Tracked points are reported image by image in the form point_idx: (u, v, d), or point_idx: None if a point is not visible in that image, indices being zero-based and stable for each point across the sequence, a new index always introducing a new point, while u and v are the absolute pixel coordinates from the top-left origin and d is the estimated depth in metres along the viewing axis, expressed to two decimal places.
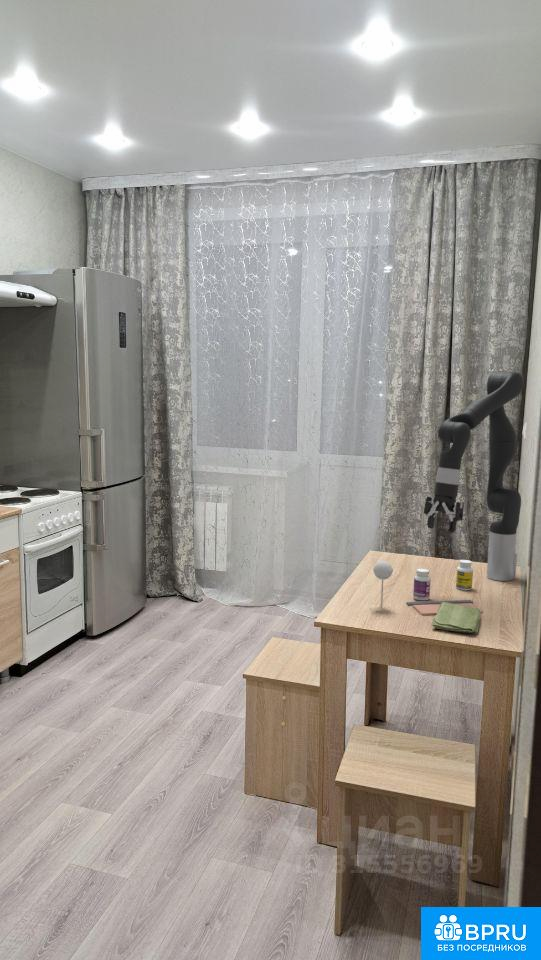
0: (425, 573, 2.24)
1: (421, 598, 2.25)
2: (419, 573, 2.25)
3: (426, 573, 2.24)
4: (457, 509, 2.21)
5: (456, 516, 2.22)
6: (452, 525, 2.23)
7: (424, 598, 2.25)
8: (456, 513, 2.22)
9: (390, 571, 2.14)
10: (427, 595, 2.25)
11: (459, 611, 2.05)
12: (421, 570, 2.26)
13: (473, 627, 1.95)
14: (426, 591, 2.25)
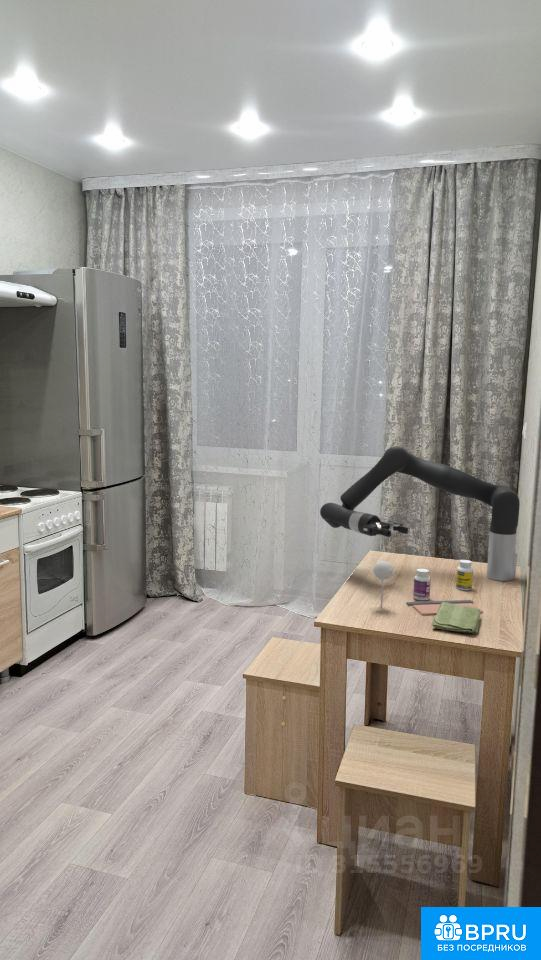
0: (425, 573, 2.24)
1: (421, 598, 2.25)
2: (419, 573, 2.25)
3: (426, 573, 2.24)
4: None
5: None
6: (383, 534, 2.32)
7: (424, 598, 2.25)
8: None
9: (390, 571, 2.14)
10: (427, 595, 2.25)
11: (459, 611, 2.05)
12: (421, 570, 2.26)
13: (473, 627, 1.95)
14: (426, 591, 2.25)
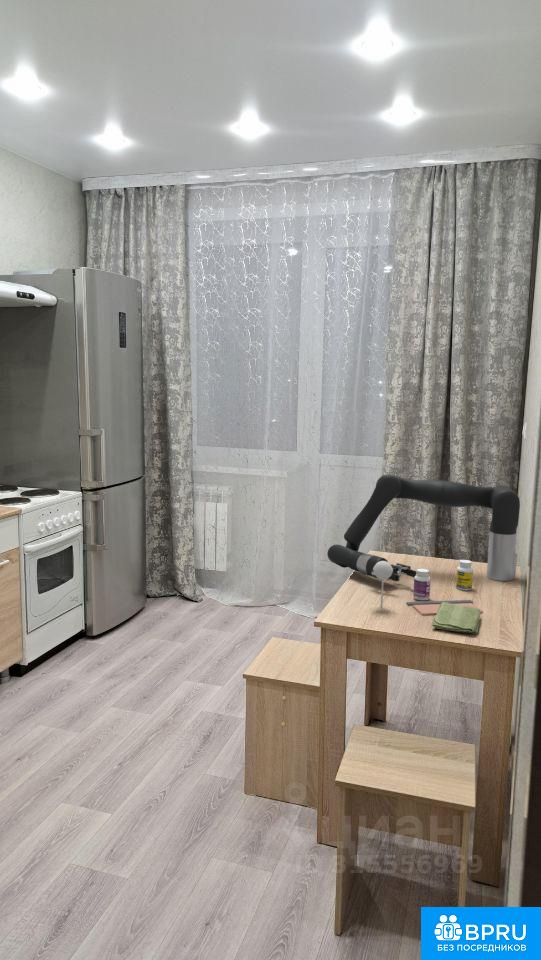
0: (425, 573, 2.24)
1: (421, 598, 2.25)
2: (419, 573, 2.25)
3: (426, 573, 2.24)
4: None
5: None
6: (391, 579, 2.31)
7: (424, 598, 2.25)
8: None
9: (390, 571, 2.14)
10: (427, 595, 2.25)
11: (459, 611, 2.05)
12: (421, 570, 2.26)
13: (473, 627, 1.95)
14: (426, 591, 2.25)
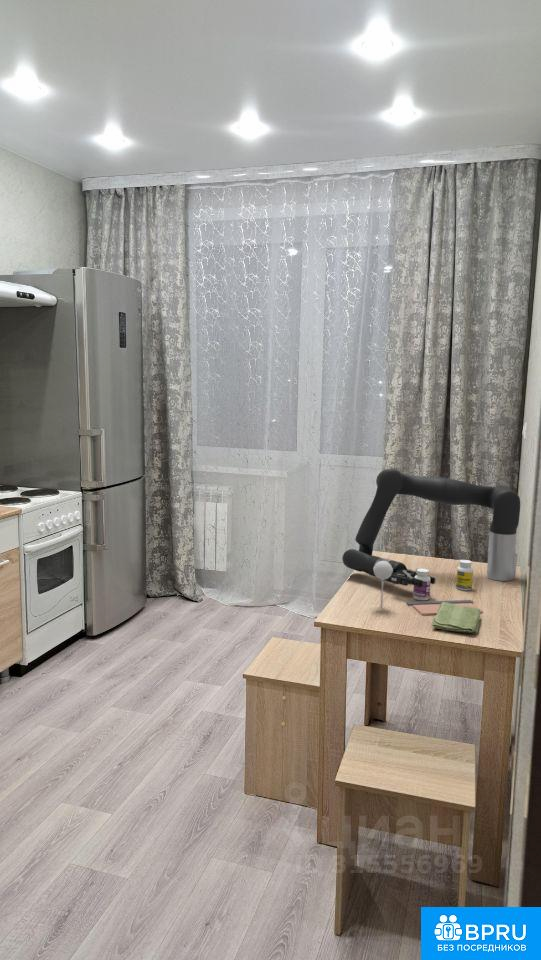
0: (425, 573, 2.24)
1: (421, 598, 2.25)
2: (419, 573, 2.25)
3: (426, 573, 2.24)
4: None
5: None
6: (414, 584, 2.24)
7: (424, 598, 2.25)
8: None
9: (390, 571, 2.14)
10: (427, 595, 2.25)
11: (459, 611, 2.05)
12: (421, 570, 2.26)
13: (473, 627, 1.95)
14: (426, 591, 2.25)
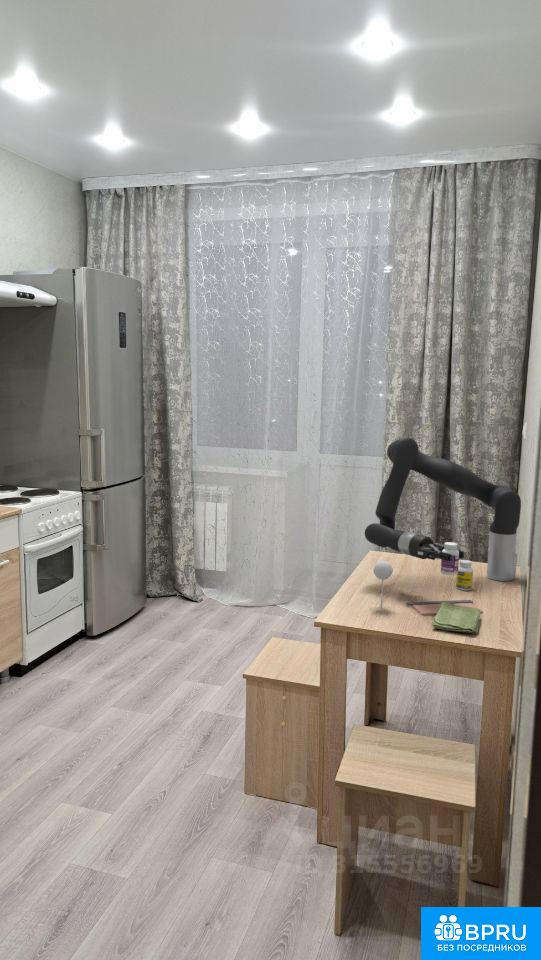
0: (454, 546, 2.13)
1: (449, 573, 2.13)
2: (447, 546, 2.13)
3: (455, 546, 2.13)
4: None
5: None
6: (442, 558, 2.13)
7: (452, 573, 2.13)
8: None
9: (390, 571, 2.14)
10: (455, 570, 2.13)
11: (459, 611, 2.05)
12: (449, 543, 2.14)
13: (473, 627, 1.95)
14: (454, 565, 2.13)
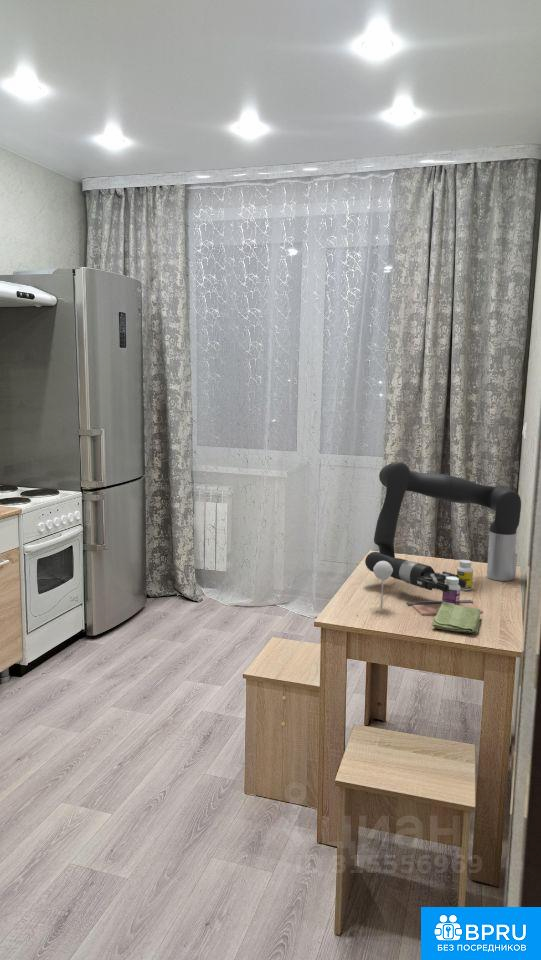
0: (455, 581, 2.13)
1: None
2: (449, 581, 2.14)
3: (456, 581, 2.14)
4: None
5: None
6: (440, 589, 2.13)
7: None
8: None
9: (390, 571, 2.14)
10: (457, 604, 2.14)
11: (459, 611, 2.05)
12: (451, 578, 2.15)
13: (473, 627, 1.95)
14: (456, 600, 2.14)
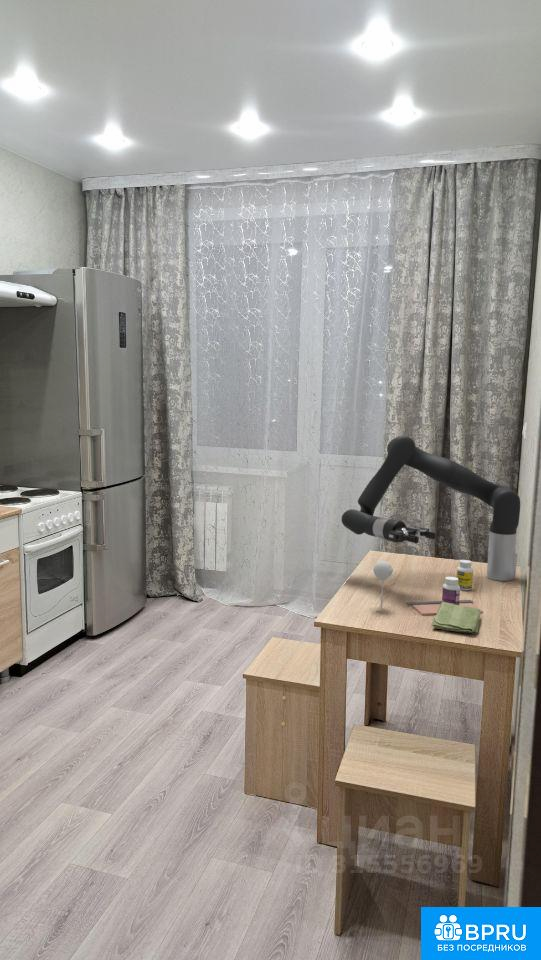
0: (454, 581, 2.13)
1: None
2: (448, 581, 2.14)
3: (456, 581, 2.14)
4: None
5: None
6: (410, 541, 2.21)
7: None
8: None
9: (390, 571, 2.14)
10: (456, 604, 2.14)
11: (459, 611, 2.05)
12: (450, 578, 2.15)
13: (473, 627, 1.95)
14: (455, 600, 2.14)
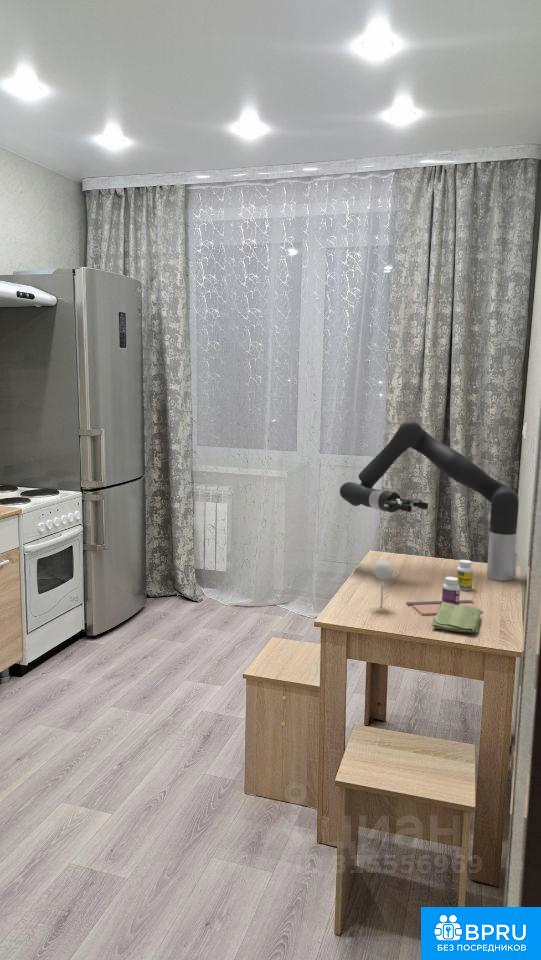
0: (454, 581, 2.13)
1: None
2: (448, 581, 2.14)
3: (455, 581, 2.13)
4: None
5: None
6: (403, 509, 2.36)
7: None
8: (392, 509, 2.38)
9: (390, 571, 2.14)
10: None
11: (459, 611, 2.05)
12: (450, 578, 2.15)
13: (473, 627, 1.95)
14: (455, 600, 2.14)
